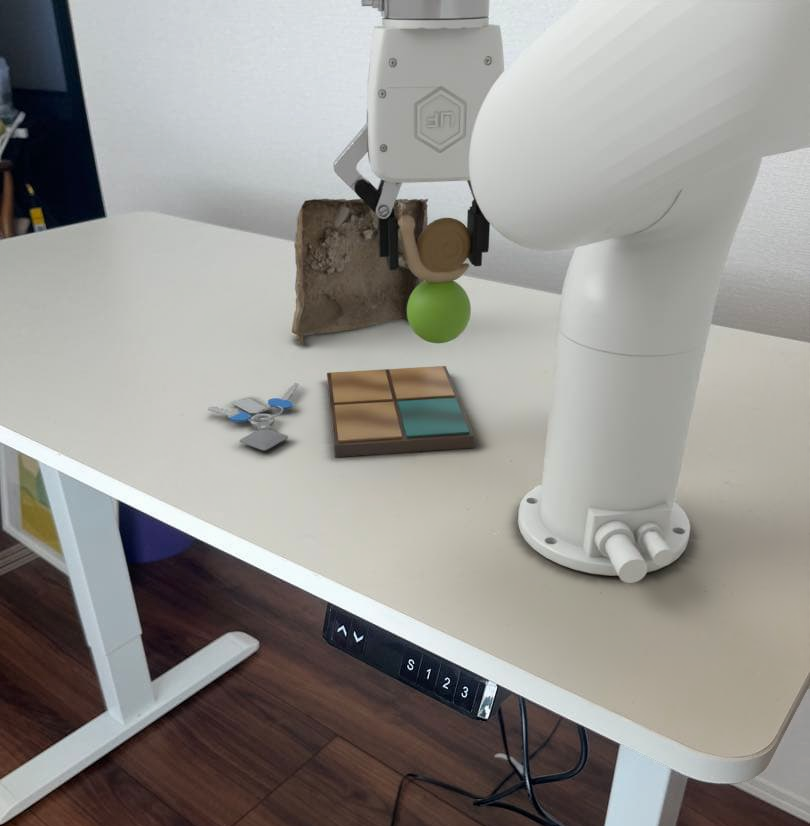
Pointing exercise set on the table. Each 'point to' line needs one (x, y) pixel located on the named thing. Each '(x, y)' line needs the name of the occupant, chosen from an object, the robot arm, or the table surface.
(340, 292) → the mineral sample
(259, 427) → the key chain
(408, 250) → the snail figurine
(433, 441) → the game board
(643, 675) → the table surface
